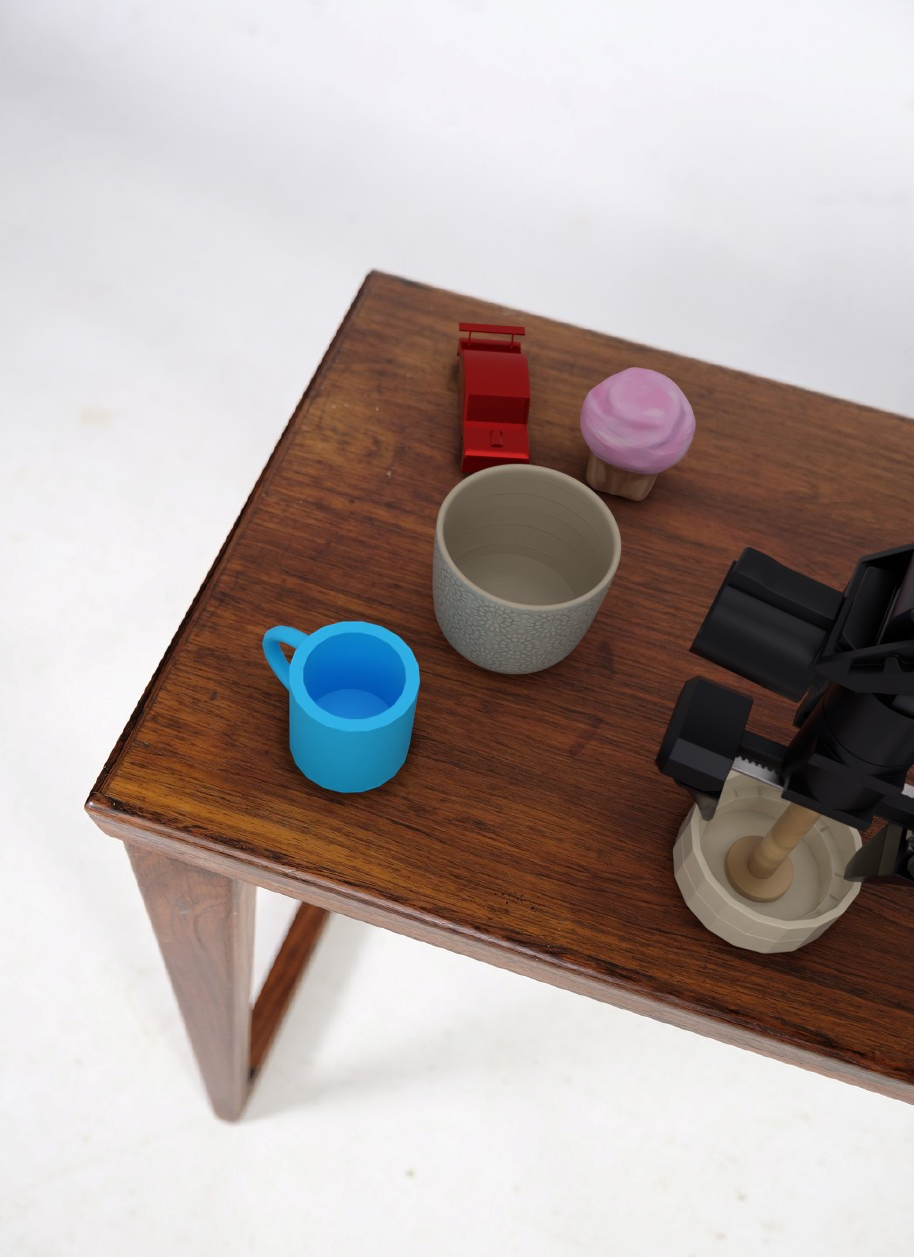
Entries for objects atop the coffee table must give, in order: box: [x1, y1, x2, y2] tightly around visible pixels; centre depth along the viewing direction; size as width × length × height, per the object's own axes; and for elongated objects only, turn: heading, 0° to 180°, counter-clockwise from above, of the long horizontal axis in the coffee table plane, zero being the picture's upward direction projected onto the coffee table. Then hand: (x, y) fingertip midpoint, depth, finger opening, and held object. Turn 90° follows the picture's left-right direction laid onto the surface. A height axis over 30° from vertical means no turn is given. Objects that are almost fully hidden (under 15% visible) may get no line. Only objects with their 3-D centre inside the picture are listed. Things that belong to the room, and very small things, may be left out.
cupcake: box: [579, 366, 697, 502], centre depth 93 cm, size 9×9×10 cm
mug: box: [262, 621, 421, 794], centre depth 78 cm, size 12×8×8 cm
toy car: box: [456, 321, 531, 474], centre depth 98 cm, size 14×6×5 cm, turn 2°
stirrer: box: [724, 802, 822, 903], centre depth 74 cm, size 4×4×11 cm
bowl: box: [672, 770, 863, 954], centre depth 77 cm, size 11×11×5 cm
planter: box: [432, 464, 622, 675], centre depth 83 cm, size 12×12×11 cm
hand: (776, 843), depth 75 cm, fingers open, 9 cm apart
